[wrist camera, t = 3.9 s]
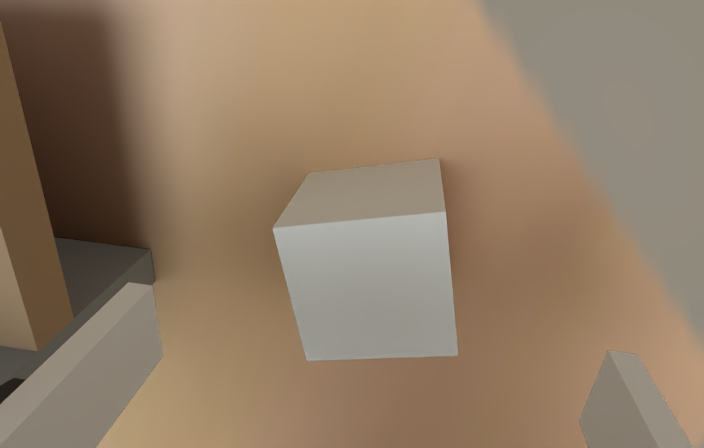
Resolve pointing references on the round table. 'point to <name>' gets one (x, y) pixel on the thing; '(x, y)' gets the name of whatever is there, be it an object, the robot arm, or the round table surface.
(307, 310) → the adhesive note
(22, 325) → the board
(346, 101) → the round table surface
